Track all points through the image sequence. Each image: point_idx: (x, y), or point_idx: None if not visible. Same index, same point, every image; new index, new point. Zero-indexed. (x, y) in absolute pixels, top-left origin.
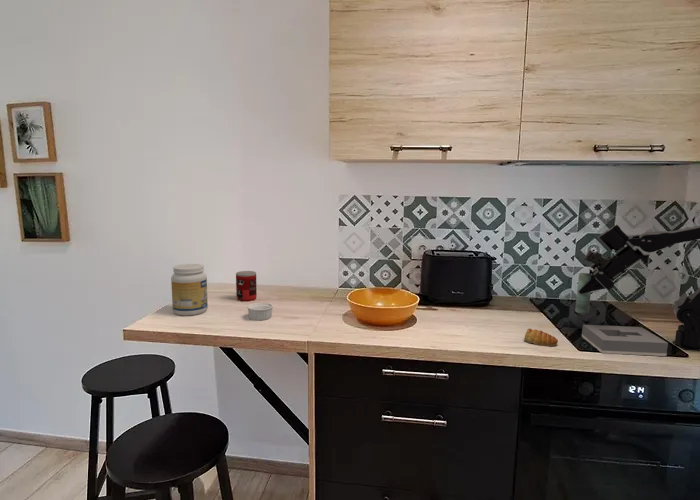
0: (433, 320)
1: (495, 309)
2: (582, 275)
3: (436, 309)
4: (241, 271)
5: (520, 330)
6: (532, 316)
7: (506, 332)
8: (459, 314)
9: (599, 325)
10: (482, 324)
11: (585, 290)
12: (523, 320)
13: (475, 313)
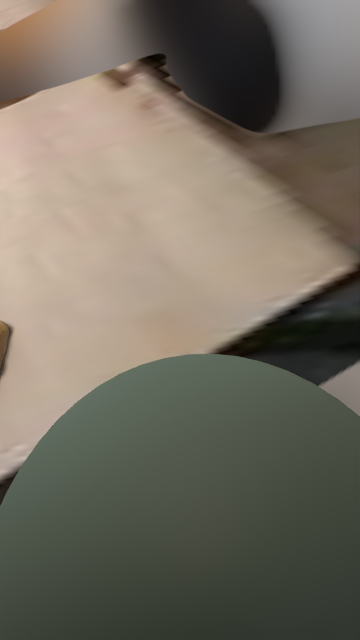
0: (31, 120)
1: (246, 158)
2: (15, 497)
3: (124, 86)
4: None
5: (64, 286)
6: (263, 260)
7: (21, 264)
8: (118, 128)
9: None
10: (62, 195)
11: None
12: (185, 256)
13: (156, 145)
